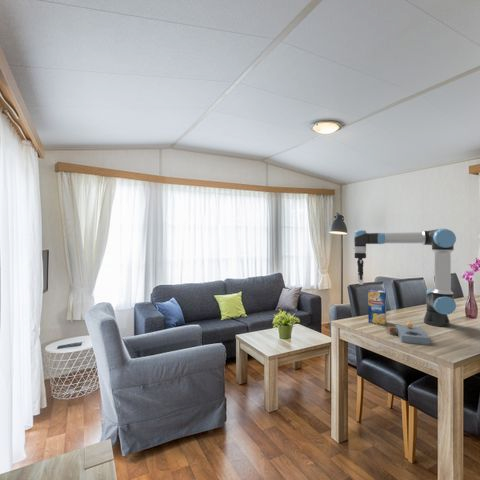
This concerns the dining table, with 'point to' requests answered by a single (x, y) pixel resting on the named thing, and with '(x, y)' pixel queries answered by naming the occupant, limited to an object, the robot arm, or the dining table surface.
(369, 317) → the blue food box
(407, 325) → the ball
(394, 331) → the walnut block
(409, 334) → the gray slab with hole
